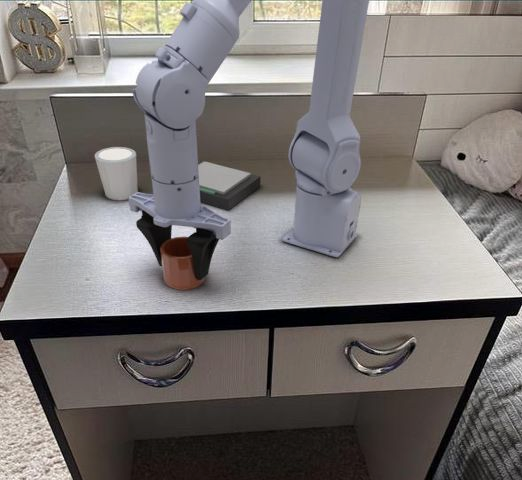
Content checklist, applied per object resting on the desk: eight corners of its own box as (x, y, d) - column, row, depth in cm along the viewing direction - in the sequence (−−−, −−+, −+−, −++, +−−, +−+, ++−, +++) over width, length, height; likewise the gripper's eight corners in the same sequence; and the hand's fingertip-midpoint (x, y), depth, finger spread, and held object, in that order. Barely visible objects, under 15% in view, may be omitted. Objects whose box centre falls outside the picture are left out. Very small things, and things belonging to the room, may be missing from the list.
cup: (212, 274, 74) (211, 243, 71) (188, 294, 70) (186, 262, 67) (180, 263, 76) (177, 232, 73) (155, 282, 72) (151, 250, 69)
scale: (260, 186, 96) (260, 173, 94) (228, 210, 89) (228, 196, 87) (201, 171, 100) (200, 157, 99) (166, 192, 93) (165, 178, 91)
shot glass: (94, 197, 91) (86, 158, 86) (114, 182, 96) (108, 143, 91) (129, 204, 89) (123, 164, 85) (148, 188, 94) (143, 149, 89)
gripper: (106, 172, 63) (123, 268, 72) (206, 201, 58) (211, 300, 67) (143, 153, 68) (155, 245, 77) (239, 179, 63) (239, 274, 72)
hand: (183, 269), depth 72 cm, fingers closed on cup, 5 cm apart
